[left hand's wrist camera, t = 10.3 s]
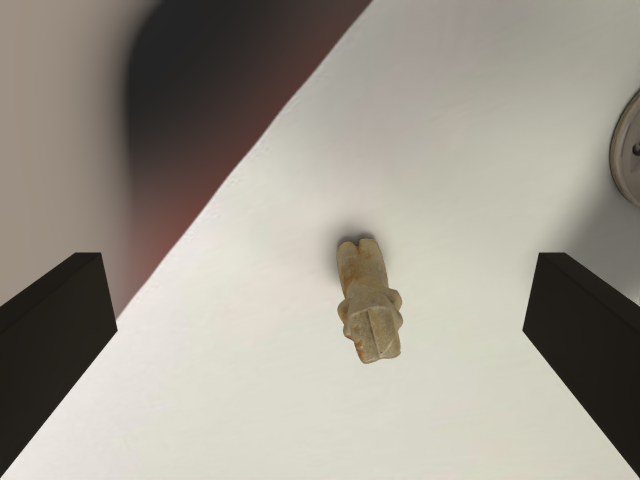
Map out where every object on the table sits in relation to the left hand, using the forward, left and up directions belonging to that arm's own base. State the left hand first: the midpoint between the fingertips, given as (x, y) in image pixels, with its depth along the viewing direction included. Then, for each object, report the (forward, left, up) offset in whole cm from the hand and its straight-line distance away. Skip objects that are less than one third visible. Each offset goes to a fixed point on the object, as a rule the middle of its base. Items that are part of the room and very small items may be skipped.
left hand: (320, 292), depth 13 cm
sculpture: (+7, +12, -30) cm, 33 cm away
